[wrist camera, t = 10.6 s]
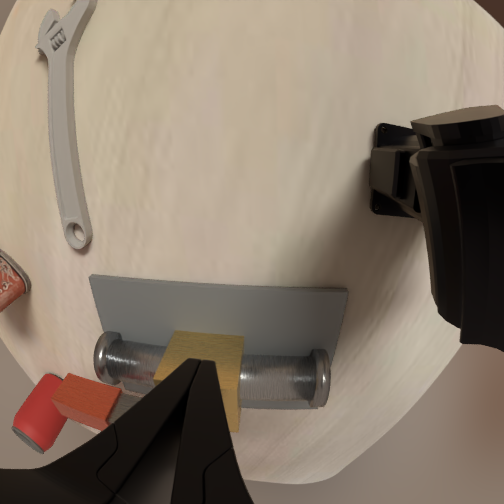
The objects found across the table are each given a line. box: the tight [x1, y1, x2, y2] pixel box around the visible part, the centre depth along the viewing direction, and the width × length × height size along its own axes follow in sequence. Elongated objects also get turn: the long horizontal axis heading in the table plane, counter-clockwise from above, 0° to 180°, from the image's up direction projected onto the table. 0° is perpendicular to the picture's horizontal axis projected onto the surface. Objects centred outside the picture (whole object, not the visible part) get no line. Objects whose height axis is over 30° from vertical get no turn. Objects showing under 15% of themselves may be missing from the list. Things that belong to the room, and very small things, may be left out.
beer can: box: [12, 374, 68, 454], centre depth 25 cm, size 7×7×12 cm
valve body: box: [94, 330, 331, 432], centre depth 21 cm, size 20×6×7 cm, turn 89°
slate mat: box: [89, 274, 348, 409], centre depth 24 cm, size 22×15×1 cm
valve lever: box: [51, 373, 141, 431], centre depth 17 cm, size 13×2×3 cm, turn 89°
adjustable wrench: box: [35, 0, 98, 249], centre depth 16 cm, size 25×6×2 cm, turn 0°
